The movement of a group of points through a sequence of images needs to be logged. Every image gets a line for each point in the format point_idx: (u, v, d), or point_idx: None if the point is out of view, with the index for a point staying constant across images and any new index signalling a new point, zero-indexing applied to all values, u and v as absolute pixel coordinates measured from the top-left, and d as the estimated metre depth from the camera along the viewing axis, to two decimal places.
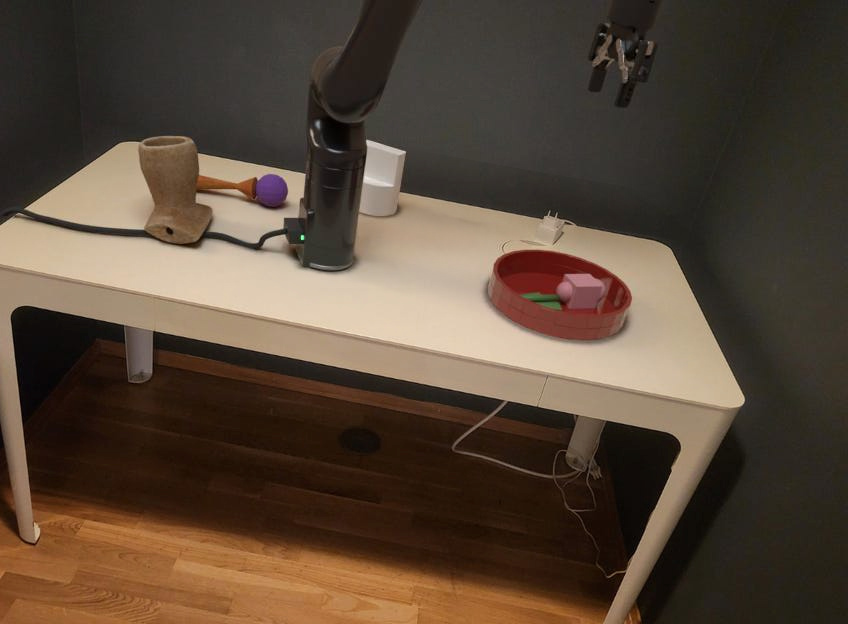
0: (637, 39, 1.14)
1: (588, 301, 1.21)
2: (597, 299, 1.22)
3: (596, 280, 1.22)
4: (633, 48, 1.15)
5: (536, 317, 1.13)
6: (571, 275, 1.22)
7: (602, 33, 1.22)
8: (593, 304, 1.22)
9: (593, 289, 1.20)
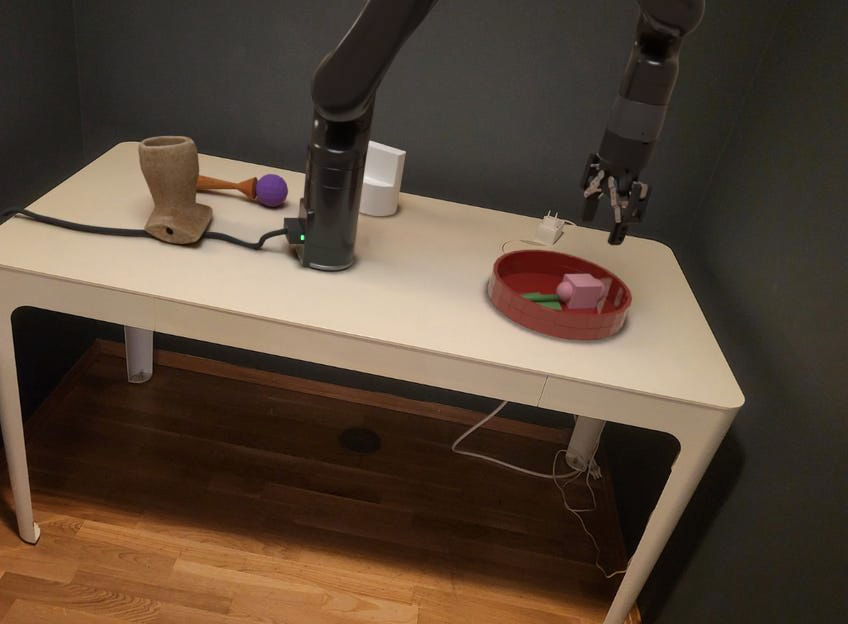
0: (630, 180, 1.08)
1: (588, 301, 1.21)
2: (597, 299, 1.22)
3: (596, 280, 1.22)
4: (626, 188, 1.09)
5: (536, 317, 1.13)
6: (571, 275, 1.22)
7: (594, 164, 1.16)
8: (593, 304, 1.22)
9: (593, 289, 1.20)
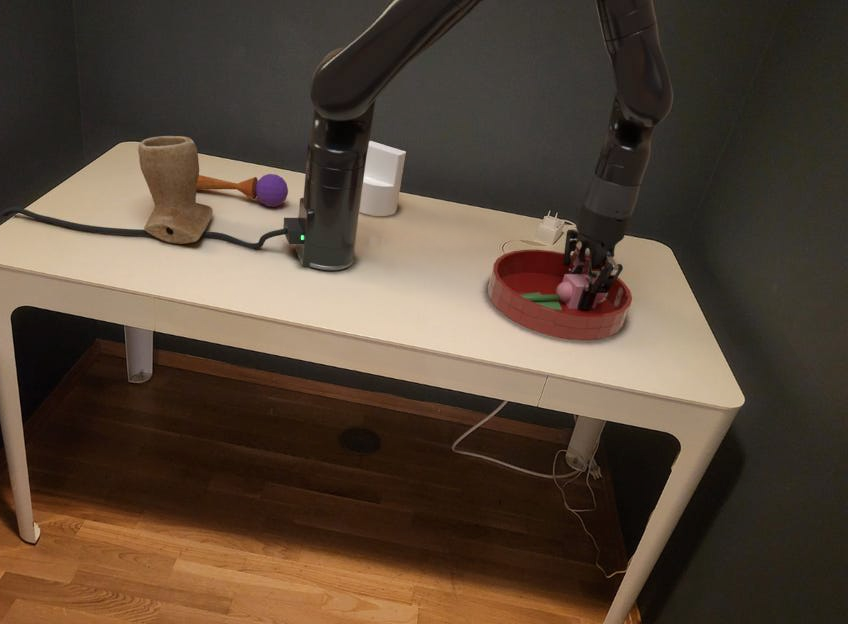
0: (605, 256, 1.14)
1: None
2: (597, 299, 1.22)
3: None
4: (602, 260, 1.15)
5: (536, 317, 1.13)
6: (571, 275, 1.22)
7: (572, 238, 1.22)
8: (593, 304, 1.22)
9: None
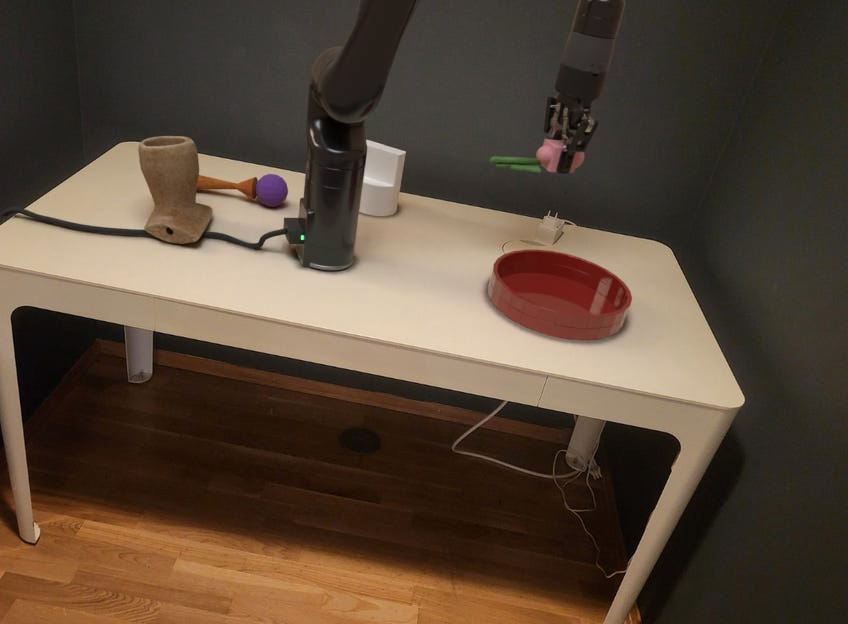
0: (582, 112, 1.18)
1: None
2: (576, 163, 1.26)
3: None
4: (579, 117, 1.19)
5: (536, 317, 1.13)
6: (551, 140, 1.26)
7: (552, 105, 1.26)
8: (572, 168, 1.26)
9: None
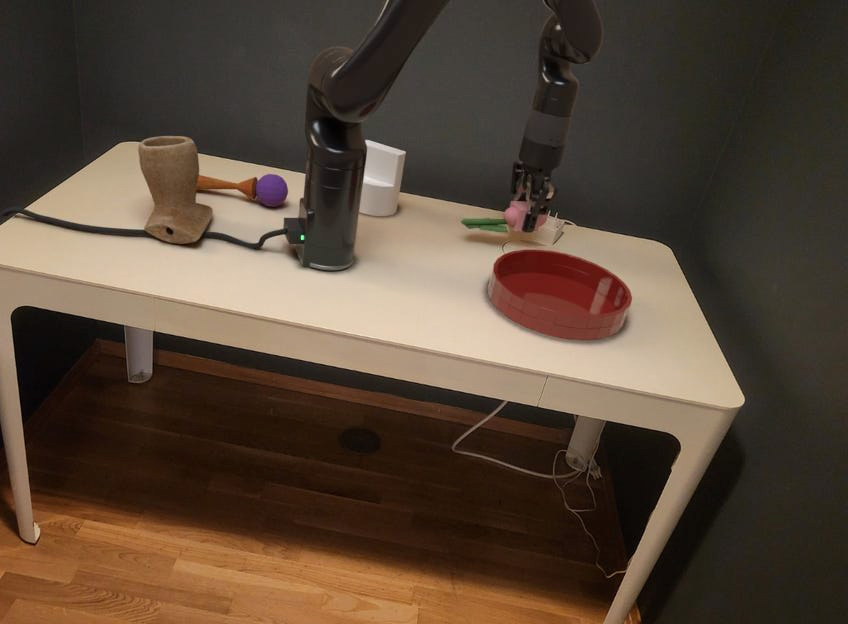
0: (543, 180, 1.31)
1: None
2: (540, 223, 1.38)
3: None
4: (540, 185, 1.31)
5: (536, 317, 1.13)
6: (517, 202, 1.39)
7: (518, 169, 1.39)
8: (536, 227, 1.39)
9: None
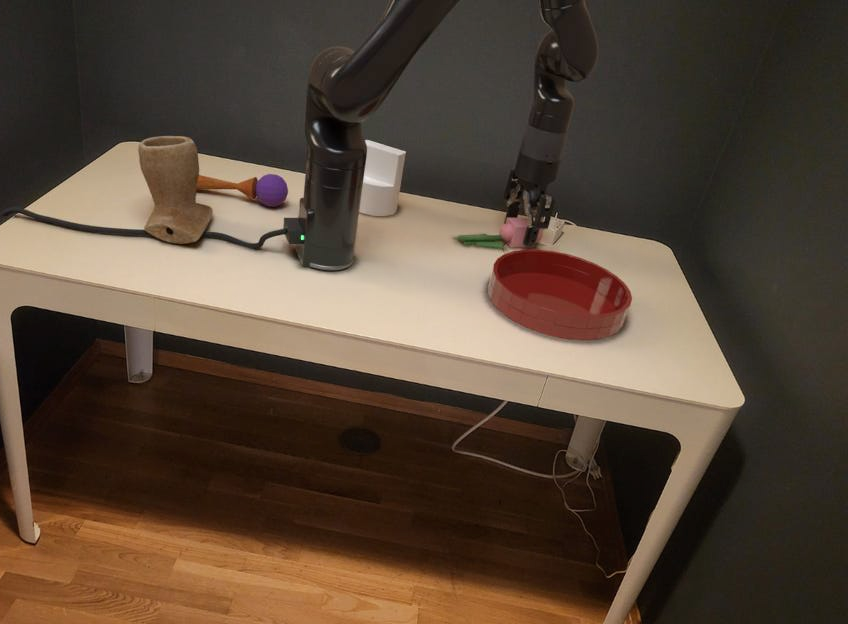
0: (538, 193, 1.32)
1: None
2: None
3: None
4: (536, 199, 1.33)
5: (536, 317, 1.13)
6: (513, 218, 1.40)
7: (514, 179, 1.40)
8: None
9: None
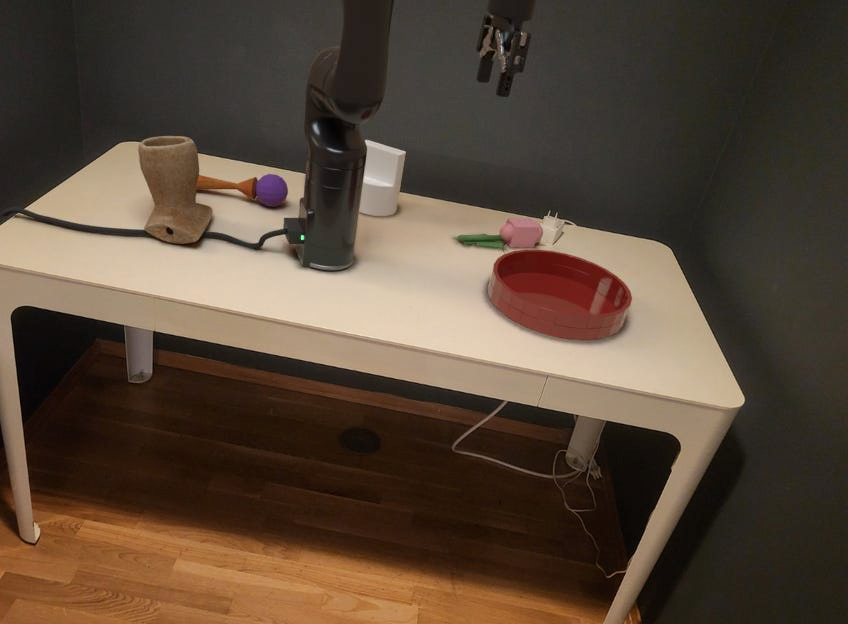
0: (513, 30, 1.18)
1: (527, 240, 1.40)
2: (535, 239, 1.40)
3: (534, 223, 1.40)
4: (510, 39, 1.19)
5: (536, 317, 1.13)
6: (513, 218, 1.40)
7: (487, 25, 1.26)
8: (532, 244, 1.40)
9: (531, 230, 1.39)
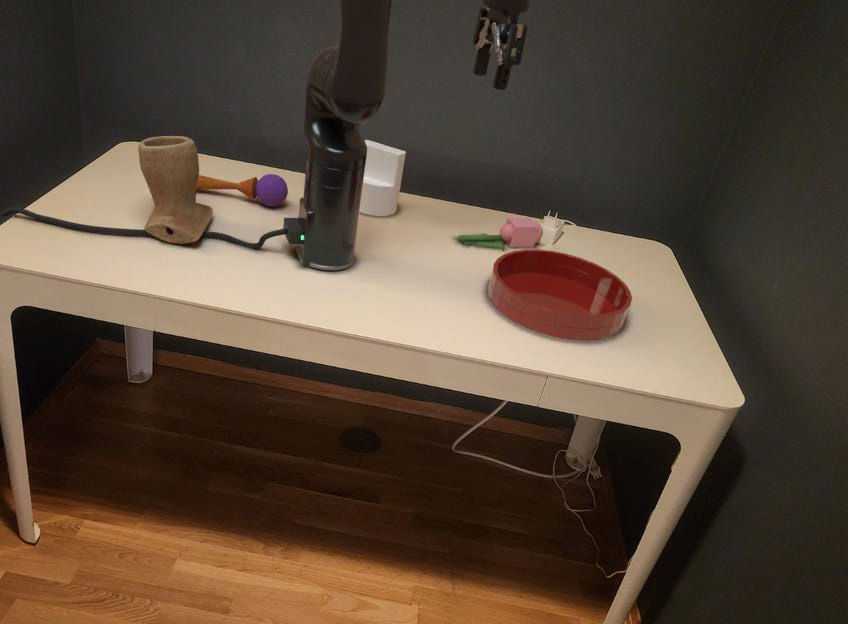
0: (509, 22, 1.17)
1: (527, 240, 1.40)
2: (535, 239, 1.40)
3: (534, 223, 1.40)
4: (506, 31, 1.18)
5: (536, 317, 1.13)
6: (513, 218, 1.40)
7: (483, 17, 1.25)
8: (532, 244, 1.40)
9: (531, 230, 1.39)
